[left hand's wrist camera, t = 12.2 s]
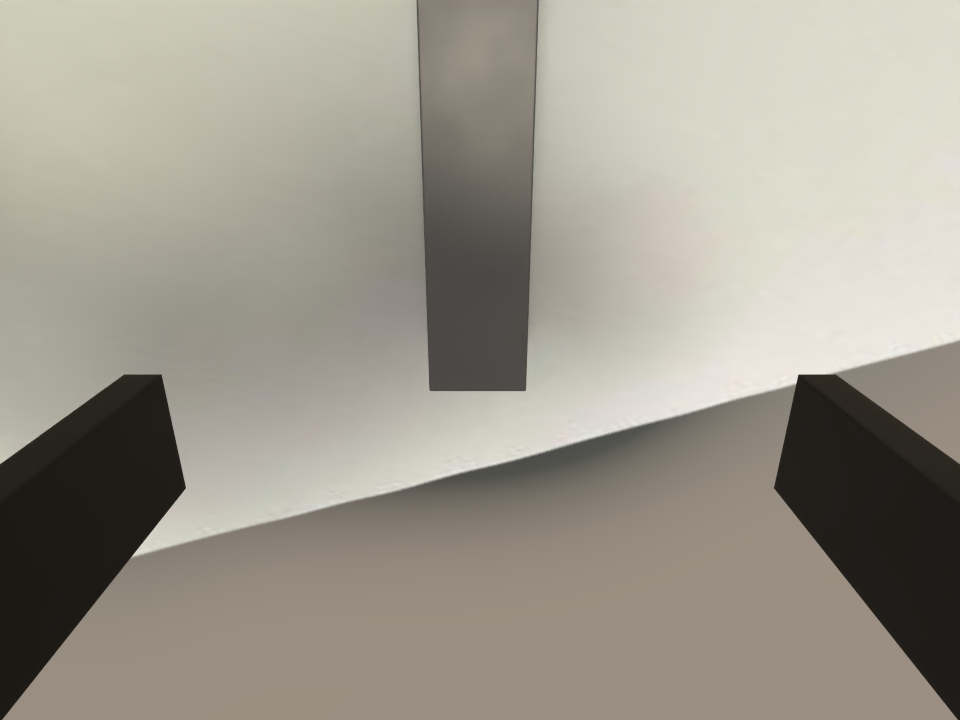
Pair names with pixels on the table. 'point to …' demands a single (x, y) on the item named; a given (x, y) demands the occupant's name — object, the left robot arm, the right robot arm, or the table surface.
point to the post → (477, 187)
